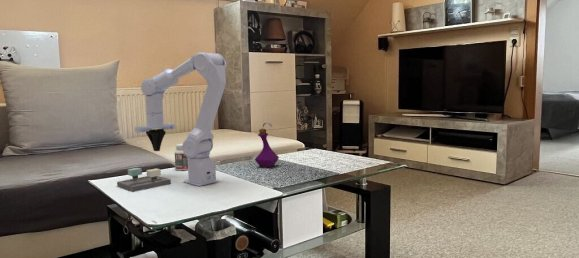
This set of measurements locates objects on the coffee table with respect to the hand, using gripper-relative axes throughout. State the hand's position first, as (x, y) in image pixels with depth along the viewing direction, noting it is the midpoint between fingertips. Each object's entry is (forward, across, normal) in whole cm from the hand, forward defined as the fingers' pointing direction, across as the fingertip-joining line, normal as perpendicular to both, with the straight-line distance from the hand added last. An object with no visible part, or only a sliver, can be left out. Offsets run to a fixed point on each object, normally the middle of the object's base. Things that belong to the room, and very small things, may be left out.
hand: (156, 150), depth 150 cm
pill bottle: (+10, -14, -6) cm, 18 cm away
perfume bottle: (+10, -39, +16) cm, 43 cm away
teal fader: (+8, +10, +2) cm, 13 cm away
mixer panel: (+10, +8, +6) cm, 14 cm away
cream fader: (+8, +6, +8) cm, 13 cm away
